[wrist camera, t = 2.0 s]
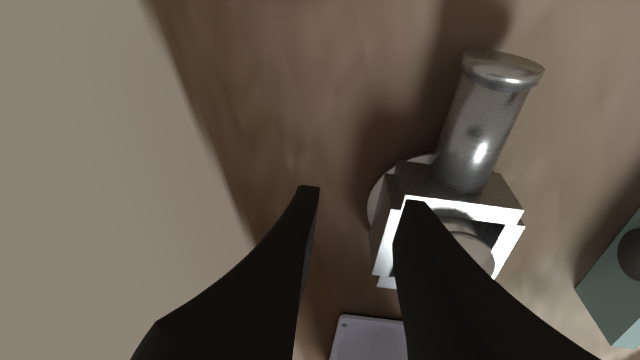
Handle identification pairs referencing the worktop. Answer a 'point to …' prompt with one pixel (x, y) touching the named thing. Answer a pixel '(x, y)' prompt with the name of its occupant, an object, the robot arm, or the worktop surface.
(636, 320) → the pale teal rectangular bar
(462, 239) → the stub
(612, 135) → the worktop surface
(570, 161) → the worktop surface
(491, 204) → the elbow
